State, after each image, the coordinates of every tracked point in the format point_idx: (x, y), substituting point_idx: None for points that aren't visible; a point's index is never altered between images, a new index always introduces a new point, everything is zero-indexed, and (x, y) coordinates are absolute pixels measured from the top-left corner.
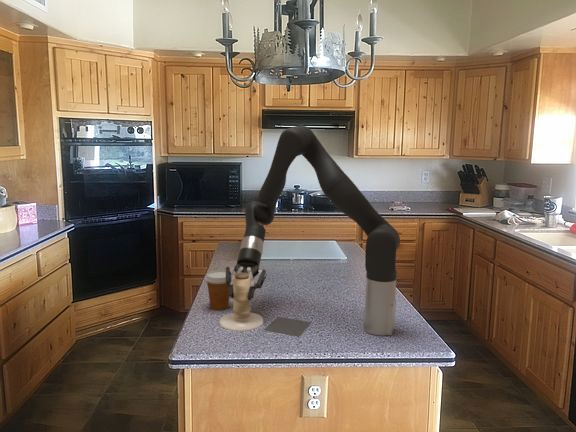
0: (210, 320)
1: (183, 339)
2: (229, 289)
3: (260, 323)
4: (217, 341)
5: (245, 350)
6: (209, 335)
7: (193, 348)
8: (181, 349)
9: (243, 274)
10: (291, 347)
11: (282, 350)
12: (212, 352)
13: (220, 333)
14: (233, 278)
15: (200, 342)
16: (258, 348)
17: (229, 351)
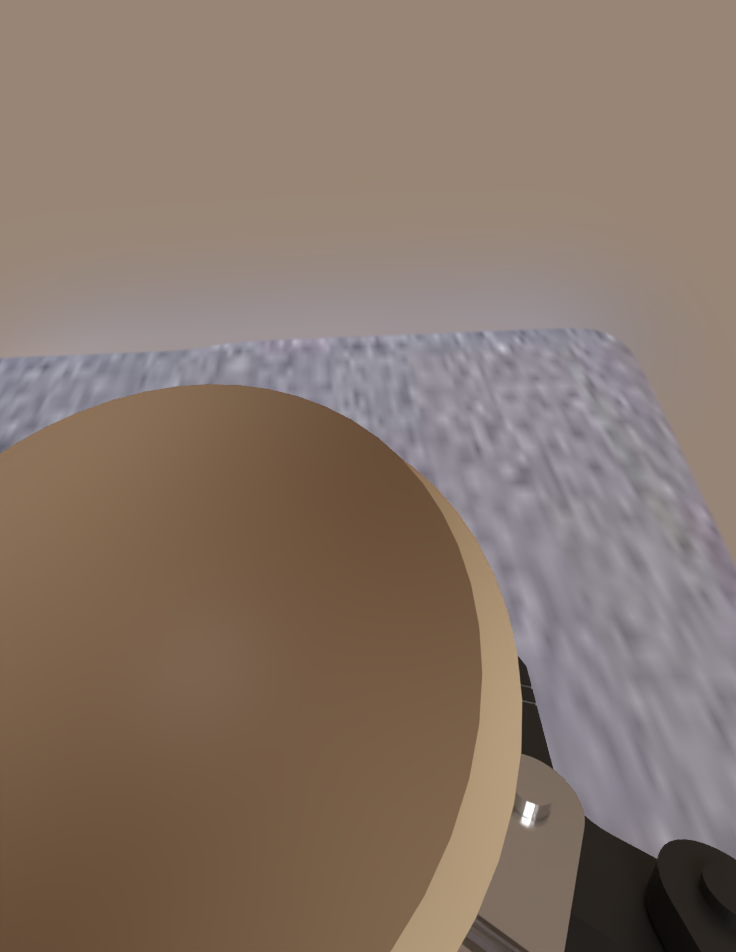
0: (642, 800)
1: (667, 449)
2: (534, 715)
3: None
4: (462, 435)
5: (304, 361)
6: (535, 504)
7: (561, 366)
8: (615, 356)
9: (76, 605)
10: (74, 394)
11: (128, 368)
12: (456, 340)
13: (473, 534)
14: (484, 565)
15: (553, 421)
16: (240, 379)
17: (379, 350)
